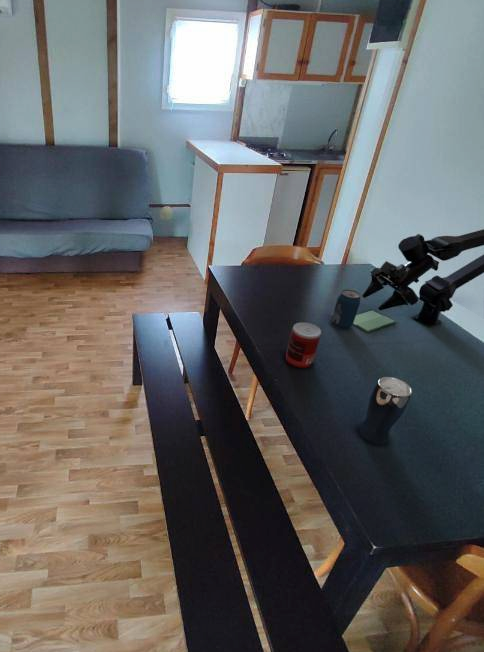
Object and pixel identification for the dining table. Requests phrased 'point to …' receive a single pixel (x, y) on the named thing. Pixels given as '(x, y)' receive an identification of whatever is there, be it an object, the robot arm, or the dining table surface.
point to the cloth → (371, 321)
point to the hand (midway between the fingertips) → (370, 303)
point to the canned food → (303, 345)
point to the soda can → (345, 309)
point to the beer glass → (384, 409)
